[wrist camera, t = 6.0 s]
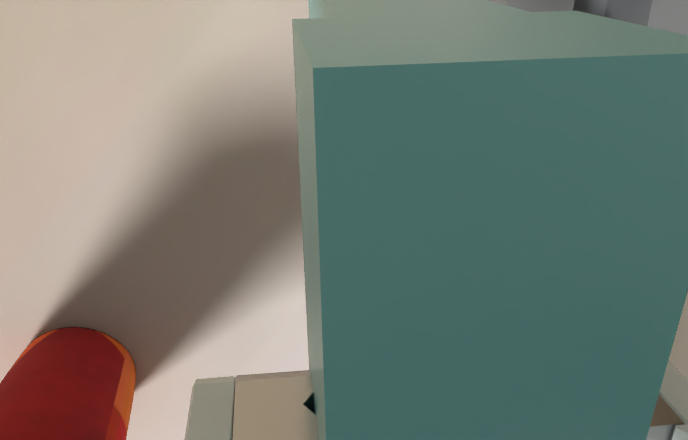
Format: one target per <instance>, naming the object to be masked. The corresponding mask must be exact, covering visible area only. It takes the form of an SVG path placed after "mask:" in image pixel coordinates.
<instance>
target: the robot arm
mask: <svg viewBox="0 0 688 440" xmlns="http://www.w3.org/2000/svg"><path fill="white" fill-rule="evenodd" d="M185 440H319V433H318V425H317V417H316V415H315V414H314V393H313V384H312V376H311V371H310V370H305V371H292V372H278V373H264V374H251V375H237V376H236V377H234V376H231V377H218V378H206V379H197V380H196V382H195V384H194V386H193V388H192V394H191V401H190V408H189V414H188V421H187V428H186V434H185ZM646 440H688V379H687V378H686V377H685V376H684V375H683V374H682V373H681V372H680V371H679V370H678V369H677V368H676V367H675V366H674V365H673V364H672V363H671V362H670V361H669V360H668V363H667V367H666V370H665V374H664V378H663V381H662V385H661V388H660V392H659V395H658V399H657V402H656V406H655V410H654V413H653V417H652V420H651V424H650V427H649V431H648V435H647V438H646Z"/></svg>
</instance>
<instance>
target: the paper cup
mask: <svg viewBox="0 0 688 440" xmlns="http://www.w3.org/2000/svg"><path fill="white" fill-rule="evenodd" d="M135 380H136V370H135V365H134V362H133V359H132V357H131V355H130V354H129V352H128V351H127V350H126V348H125V347H124V346H123V345H122V344H121V343H119V342H118V341H117V340H115V339H114V338H112V337H111V336H109V335H107V334H105V333H102V332H99V331H96V330H93V329H89V328H81V327H66V328H60V329H55V330H52V331H49V332H47V333H45V334H43V335H41V336H39V337H38V338H36V339H35V340H34V341H33V342H32V343H31V344H30V345H29V346H28V347H27V348H26V349H25V350H24V352H23V353H22V354H21V355H20V357H19V358H18V359H17V361H16V362H15V364H14V365H13V366H12V368H11V369H10V370H9V372H8V373H7V374H6V376H5V377H4V379H3V380H2V382H1V383H0V440H126V436H127V430H128V425H129V419H130V414H131V408H132V402H133V396H134V389H135Z"/></svg>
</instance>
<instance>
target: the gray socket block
mask: <svg viewBox="0 0 688 440" xmlns="http://www.w3.org/2000/svg"><path fill="white" fill-rule="evenodd" d="M488 1H492V2H496V3H499V4H503V5H507V6H511V7H514V8H518V9H522V10H526V11H529V12H548V11H580V12H585V13H589V14H594V15H598V16H603V17H607V18H612V19H616V20H621V21H625V22H630V23H634V24H638V25H643V26H647V27H652V28H656V29H661V30H665V31H670V32H674V33H679V34H683V35H688V0H488Z"/></svg>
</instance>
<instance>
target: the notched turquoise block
mask: <svg viewBox="0 0 688 440" xmlns="http://www.w3.org/2000/svg"><path fill="white" fill-rule="evenodd" d="M292 26H293V47H294V67H295V88H296V108H297V129H298V149H299V170H300V190H301V211H302V231H303V252H304V272H305V293H306V313H307V334H308V354H309V370H310V371H311V376H312V384H313V393H314V414H315V415H316V417H317V425H318V433H319V440H646V438H647V435H648V431H649V427H650V424H651V420H652V417H653V413H654V410H655V406H656V402H657V399H658V395H659V392H660V388H661V385H662V381H663V378H664V374H665V370H666V367H667V363H668V360H669V356H670V352H671V349H672V345H673V342H674V338H675V335H676V331H677V327H678V324H679V320H680V317H681V313H682V310H683V306H684V303H685V299H686V295H687V292H688V35H683V34H679V33H674V32H670V31H665V30H661V29H656V28H652V27H647V26H643V25H638V24H634V23H630V22H625V21H621V20H616V19H612V18H607V17H603V16H598V15H594V14H589V13H585V12H580V11H548V12H529V11H526V10H522V9H518V8H514V7H511V6H507V5H503V4H499V3H496V2H492V1H488V0H309V19H292Z"/></svg>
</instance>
